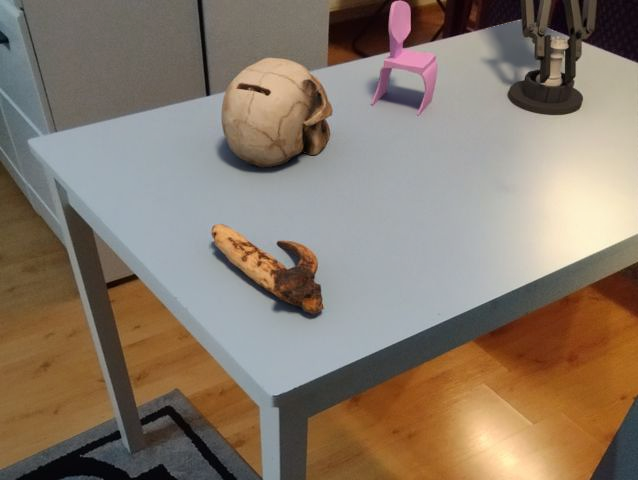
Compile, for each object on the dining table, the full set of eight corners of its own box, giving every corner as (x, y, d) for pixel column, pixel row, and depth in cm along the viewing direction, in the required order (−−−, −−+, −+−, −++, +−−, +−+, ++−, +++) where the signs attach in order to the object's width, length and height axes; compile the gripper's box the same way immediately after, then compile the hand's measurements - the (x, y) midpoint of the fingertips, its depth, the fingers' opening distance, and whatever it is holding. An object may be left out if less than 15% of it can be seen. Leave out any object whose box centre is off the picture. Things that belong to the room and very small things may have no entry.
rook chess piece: (545, 81, 115) (558, 32, 110) (566, 90, 112) (580, 40, 107) (527, 87, 113) (539, 37, 108) (548, 96, 111) (561, 45, 105)
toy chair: (419, 118, 108) (432, 17, 97) (368, 107, 110) (375, 7, 100) (436, 99, 113) (450, 1, 103) (387, 88, 116) (395, -8, 105)
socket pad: (570, 85, 118) (576, 65, 116) (590, 115, 110) (596, 94, 107) (502, 84, 118) (506, 63, 116) (515, 113, 110) (520, 92, 107)
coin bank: (326, 117, 107) (327, 31, 96) (340, 183, 95) (341, 95, 85) (226, 123, 106) (216, 37, 95) (227, 191, 94) (216, 102, 84)
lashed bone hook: (360, 297, 75) (258, 225, 84) (365, 262, 72) (258, 191, 81) (296, 332, 70) (195, 251, 79) (298, 296, 67) (193, 217, 76)
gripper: (600, -50, 112) (599, 90, 112) (501, -53, 112) (499, 88, 112) (621, -80, 105) (619, 70, 104) (515, -83, 105) (513, 67, 104)
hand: (557, 79), depth 108 cm, fingers closed on rook chess piece, 3 cm apart
